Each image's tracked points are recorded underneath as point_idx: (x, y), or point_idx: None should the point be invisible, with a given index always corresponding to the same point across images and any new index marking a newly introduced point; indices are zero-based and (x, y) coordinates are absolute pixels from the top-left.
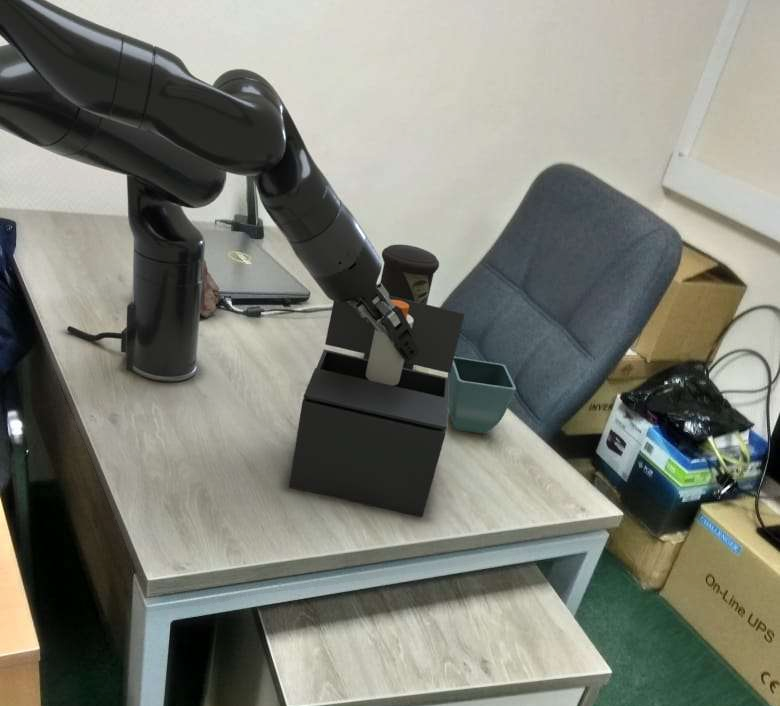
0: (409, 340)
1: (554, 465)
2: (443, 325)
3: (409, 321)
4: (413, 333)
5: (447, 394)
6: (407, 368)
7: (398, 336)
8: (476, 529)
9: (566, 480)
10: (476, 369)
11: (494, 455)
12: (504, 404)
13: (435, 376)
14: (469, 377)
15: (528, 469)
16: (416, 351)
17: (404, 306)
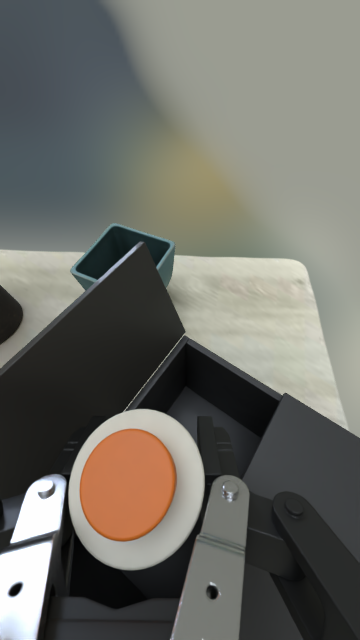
0: (237, 471)
1: (225, 263)
2: (133, 298)
3: (185, 444)
4: (316, 512)
5: (244, 373)
6: (15, 308)
7: (294, 573)
8: (340, 412)
9: (251, 268)
10: (98, 254)
11: (199, 308)
12: (172, 264)
13: (175, 356)
14: (99, 266)
15: (229, 290)
16: (227, 434)
17: (159, 467)
